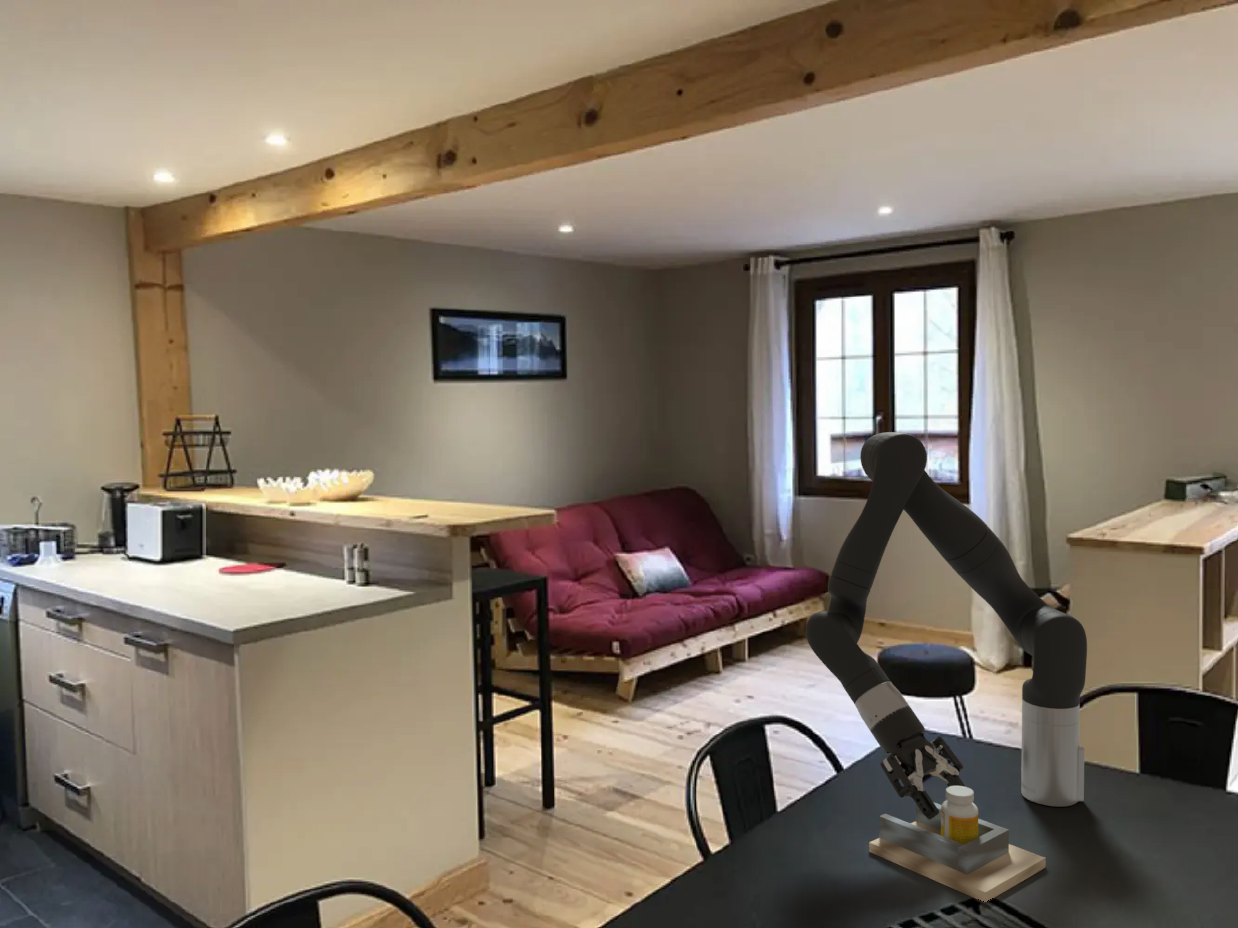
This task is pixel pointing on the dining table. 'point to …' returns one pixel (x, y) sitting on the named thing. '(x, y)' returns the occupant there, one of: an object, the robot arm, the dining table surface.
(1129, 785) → the dining table surface
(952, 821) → the supplement bottle
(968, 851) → the tray
